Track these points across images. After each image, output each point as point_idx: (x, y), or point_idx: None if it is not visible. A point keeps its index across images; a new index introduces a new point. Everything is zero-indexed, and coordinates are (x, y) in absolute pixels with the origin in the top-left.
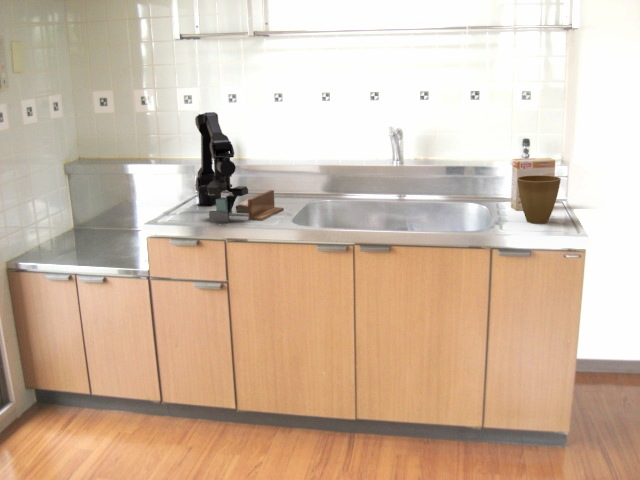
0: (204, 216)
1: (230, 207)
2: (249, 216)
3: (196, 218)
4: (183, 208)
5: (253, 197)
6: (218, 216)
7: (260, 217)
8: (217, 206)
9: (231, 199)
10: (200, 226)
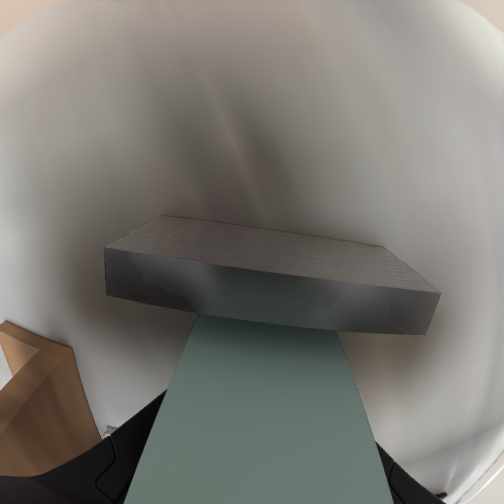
0: (439, 400)
1: (138, 421)
2: (53, 360)
3: (484, 342)
4: (493, 453)
5: None
6: (281, 251)
7: (10, 347)
8: (340, 412)
9: (23, 478)
10: (398, 51)
